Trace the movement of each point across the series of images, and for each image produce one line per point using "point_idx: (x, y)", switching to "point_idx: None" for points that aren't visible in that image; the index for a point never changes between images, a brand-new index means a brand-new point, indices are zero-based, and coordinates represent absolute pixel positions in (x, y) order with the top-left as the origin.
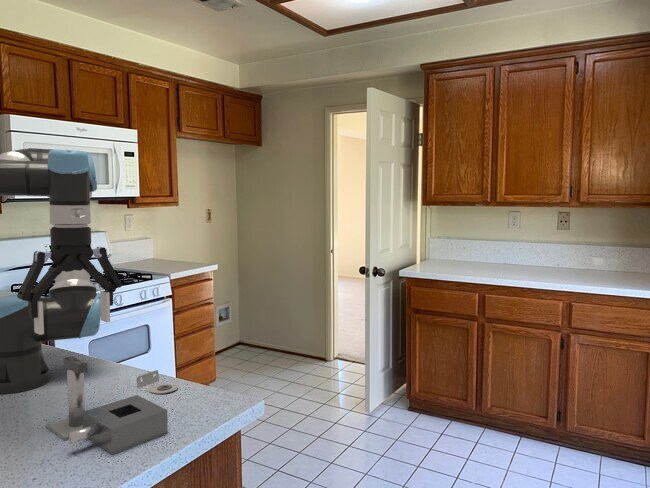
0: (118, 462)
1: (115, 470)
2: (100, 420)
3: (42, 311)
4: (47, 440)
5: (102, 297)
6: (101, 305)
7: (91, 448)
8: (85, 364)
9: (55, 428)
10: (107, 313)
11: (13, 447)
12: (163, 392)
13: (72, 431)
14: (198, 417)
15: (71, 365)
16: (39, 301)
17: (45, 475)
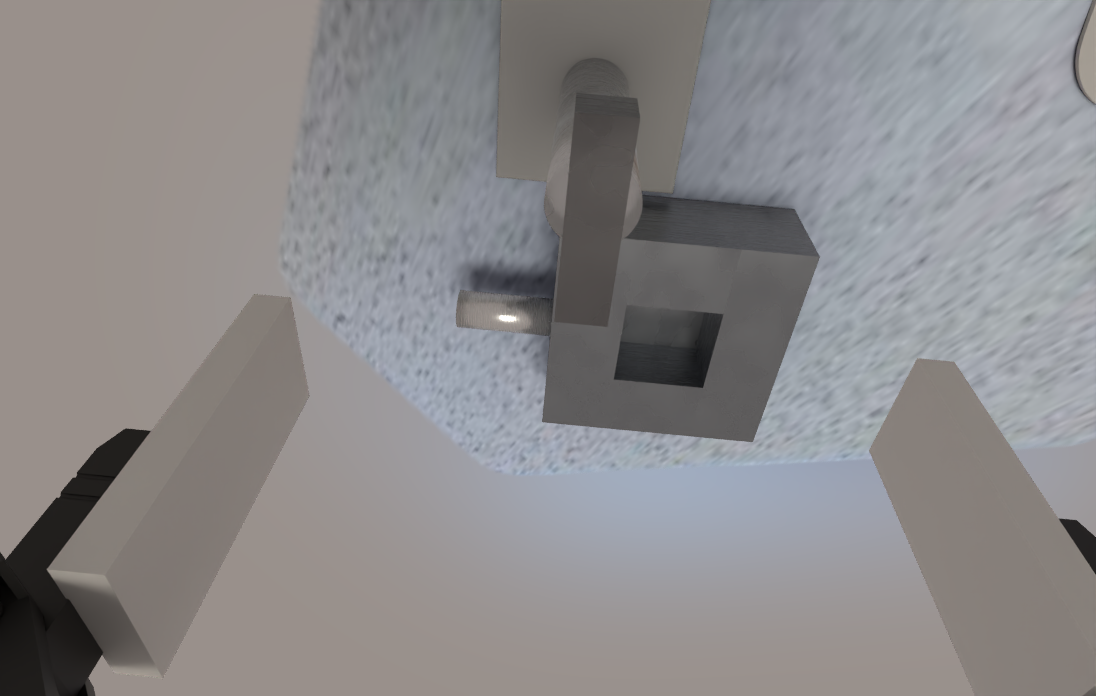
0: (534, 407)
1: (507, 428)
2: (558, 347)
3: (211, 570)
4: (455, 115)
5: (1022, 623)
6: (981, 503)
7: (530, 291)
8: (597, 323)
9: (511, 62)
10: (906, 521)
11: (339, 64)
12: (1086, 94)
13: (542, 151)
14: (887, 379)
15: (563, 225)
16: (127, 646)
17: (367, 325)
